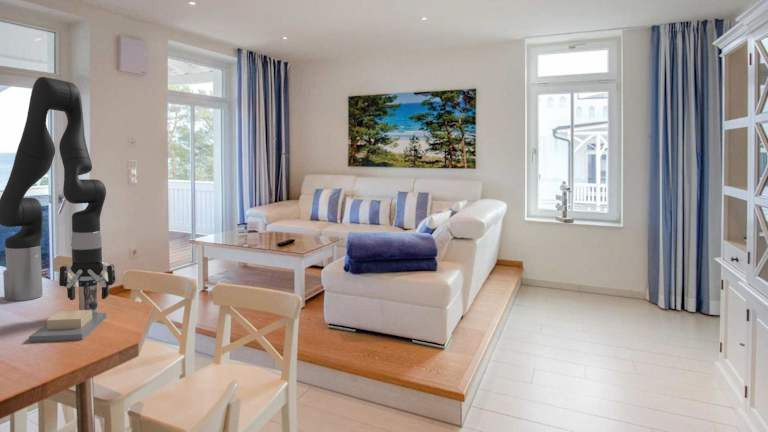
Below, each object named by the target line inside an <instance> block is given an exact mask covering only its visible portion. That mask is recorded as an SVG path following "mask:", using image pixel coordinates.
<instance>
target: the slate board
mask: <svg viewBox="0 0 768 432" xmlns="http://www.w3.org/2000/svg"><path fill="white" fill-rule="evenodd" d="M105 319H107V312H97V313H92V310H79V309H77V310H76V309H75V310H74V309H73V310H59V311H58V312H56V313H55V314H54V315H52V316H50V317H49V318H48V319H46V324H44V325H43V326H41V327H40V328H39V329H37V330H35V332H33V333H32V334H30V335H29V336H28V342H29V343H37V342H38V343H40V342H41V343H42V342H43V343H44V342H60V341H61V342H62V341H78V340H79V341H83V340H84V339H85V338H86V337H87V336H88V335H89V334H90V333H91V332H93V331H94V330H95V329H96V328H97V327H98V326H99V325H100V324H101V323H102V322H103V321H104V320H105Z"/></svg>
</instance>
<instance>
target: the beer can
mask: <svg viewBox="0 0 768 432" xmlns="http://www.w3.org/2000/svg"><path fill="white" fill-rule="evenodd" d="M77 283H78V308H79V309H78V310H92V313H99V306H98V305H99V304H98V303H99V301H98V300H99V299H98V282H97V281H96V280H95V279H94V278H93V277H92V276H89V277H81V276H80V278H79V279H78V281H77Z"/></svg>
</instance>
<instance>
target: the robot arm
mask: <svg viewBox="0 0 768 432" xmlns="http://www.w3.org/2000/svg"><path fill="white" fill-rule="evenodd" d="M29 98H30V99H29V104H28V109H27V115H26V121H25V124H24V127H23V131H22V135H21V136H20V137H21V138H20V140H19V143H18V146H17V149H16V153H15V157H14V160H13V161H14V162H13V164H12V165H13V166H12V168H11V171H10V175H9V178H8V180H7V183H6V185H5V187H4V190H3V192H2V194H1V196H0V226H3V227H5V228H16V227H21V228H20V230H18V232H17V233H15V234H13V235H10V236H8V237H7V238H5V241H4V248H5V265H6V266H5V270H3V271H2V274H3V275H2V276H3V291H4V292H3V295H4V300H5V299H7V300H6V301H13V302H14V301H15V302H16V301H17V302H18V301H29V300H34V299H37V298H40V297H42V296H43V290H44V289H43V274H42V273H43V272H42V271H43V269H42V250H41V249H42V248H41V241H42V239H43V218H44V216H43V213H44V212H43V208H42V204H41V203H40V200H38V199H37V198H35V197H25V195H26V193H27V192H28V191H29V189H30V188H32V187H33V186H34V185H36V183H37V182H39V181H40V180H41V179H42V178H43V177H44V176H45V175H46V174H47V173H48V172H49V171H50V169H51V166H52V165H53V161H54V158H55V154H56V147H55V143H54V141H53V139H52V136H51V135H50V132H49V130H48V126H47V117H48V113H49V111H52V110H53V111H58V112H64V114H65V116H66V119H67V120H66V121H67V125H66V127H65V129H64V132H63V134H62V136H61V138H60V141H59V153H60V158H61V161H62V166H63V171H64V172H63V173H64V175H63V191H62V192H63V196H64V198H65V200H66V201H67V202H69V203H70V204H76V205H77V204H79V205H80V204H87V206H86V208H84V209H82V210H79V211H75V212H74V213H72V216H71V231H72V233H71V243H70V247H71V261H72V263H71V264H72V265H68V264H64V265H62V266H60V267H59V278H58V279H59V286H60V287H65V288H66V289H67V290H66V291H67V299H69V300H70V301H74V300H75V299H76V286H75V284H76V283H78V279H79V278H80V276H81V277H89V276H92V277H93V278H94V279H95V280H96V281H97V283H98V284H99V285H100V286H101V299H102V300H106V299H107V297H109V295H110V293H109V288H110V286H112V285H114V284H115V283H116V272H115V271H116V270H115V265H114V264H113V263H111V264H110V265H109V264H108V265H107V264H106V265H104V264H103V251H102V250H103V249H102V248H103V247H102V235H101V215H102V211H103V206H104V203H105V200H106V196H107V189H106V185H105V184H104V183H103V182H102V180H99V179H94V178H93V179H88V178H87V179H84V178H83V179H79V176H82V175H86V174H88V173H90V172H92V170H93V166H92V160H91V157H90V154H89V149H88V146H87V145H88V144H87V141H86V136H85V125H84V122H85V121H84V114H83V104H82V103H83V102H82V96H81V92H80V90H79V88H78V86H77V85H76V84H75V83H72V82H71V81H70V82H69V81H66V80H60V79H57V78H52V77H47V76H46V77H45V76H40V77H38V78H37V79H36V80H35V81H34V83H33V86H32V88H31V93H30V97H29ZM103 270H104V271H105V273H106V274H107V279H106V276H104V274H102V271H103ZM70 271H71V272H72V273H73V276H72V278H71V279H70V281H68V278H69V277H68V275H69V274H68V273H70Z"/></svg>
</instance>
